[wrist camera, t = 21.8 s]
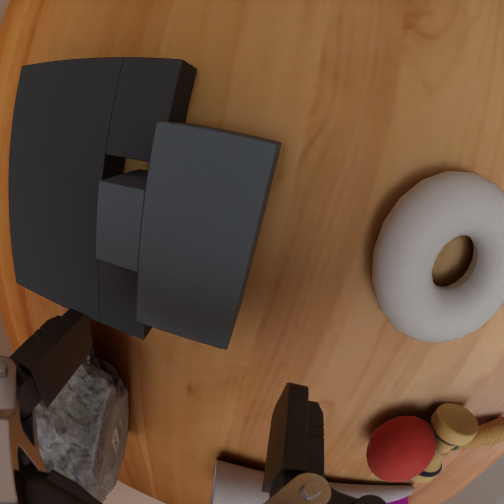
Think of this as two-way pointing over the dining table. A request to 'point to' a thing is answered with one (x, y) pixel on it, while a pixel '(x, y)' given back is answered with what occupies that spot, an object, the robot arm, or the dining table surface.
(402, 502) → the tape dispenser
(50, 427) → the decorative rock
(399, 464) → the kendama
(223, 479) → the grey hollow cone
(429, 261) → the donut
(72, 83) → the black pad
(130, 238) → the grey pad
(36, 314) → the dining table surface
